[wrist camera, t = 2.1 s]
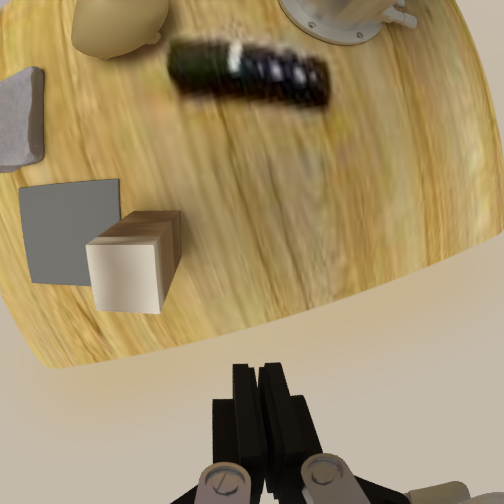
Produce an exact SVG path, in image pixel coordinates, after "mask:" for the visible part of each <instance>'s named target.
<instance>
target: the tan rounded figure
mask: <svg viewBox="0 0 504 504" xmlns="http://www.w3.org/2000/svg"><path fill="white" fill-rule="evenodd" d="M168 9H169V0H77V3H76V7H75V12H74V18H73V25H72V34H71V39H72V44H73V46H74V47H75V48H76V49H77V50H78V51H80V52H82V53H84V54H86V55H89V56H93V57H99V58H100V59H101V60H108V59H109V58H111V57H115V56H120V55H123V54H126V53H129V52H131V51H133V50H135V49H137V48H139V47H141V46H142V45H144V44H155V43H157V42H158V41H159V40H160V38H161V35H160V33H159V32H158V31H159V30H160V28H161V27H162V25H163V23H164V21H165V19H166V17H167V13H168Z"/></svg>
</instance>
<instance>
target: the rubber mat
mask: <svg viewBox="0 0 504 504" xmlns="http://www.w3.org/2000/svg"><path fill="white" fill-rule="evenodd" d="M18 190H19V203H20V214H21V222H22V230H23V237H24V244H25V250H26V256H27V261H28V266H29V271H30V276H31V281H32V283H43V284H60V285H78V286H92V285H91V279H90V273H89V266H88V259H87V252H86V244H88V243H89V242H90V241H92V240H93V239H95V238H96V237H97V236H99V235H100V234H102V233H103V232H104V231H106V230H107V229H109V228H110V227H111V226H113V225H114V224H116V223H117V222H119V221H120V220H121V213H120V191H119V179H108V180H94V181H81V182H70V183H60V184H50V185H41V186H33V187H25V188H19V189H18Z"/></svg>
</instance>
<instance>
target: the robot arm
mask: <svg viewBox="0 0 504 504" xmlns="http://www.w3.org/2000/svg"><path fill="white" fill-rule="evenodd" d="M279 3H280V5H281V7H282V9H283V11H284V12H285V13H286V15H287V16H288V18H289V19H290V20H291V21H292V22H293V23H294V24H295V25H297V26H298V27H299V28H301V29H302V30H303V31H305V32H306V33H308V34H310V35H312V36H313V37H316V38H318V39H320V40H323V41H326V42H329V43H333V44H339V45H355V44H360V43H363V42H365V41H367V40H369V39H371V38H372V37H374V36H375V35H376V34H377V33H378V32H379V31H380V29H381V27H382V25H383V21H384V22H387V23H391V22H395V23H398V24H399V25H401V26H404V27H407V28H409V29H412V30H413V29H415V27H416V26H417V18H416V17H415V16H412V15H410V14H407V13H405V12H402V11H398V10H396V9H395V7H394V6H397V7H399V8H403V7H404V6H405V0H279ZM393 5H394V6H393ZM309 26H310V27H311V28H310V27H309ZM212 405H213V407H212V414H213V417H212V424H213V425H212V431H213V464H212V465H210V466H208V467H207V468H206V469H205V470H204V471H203V472H202V473H201V476H200V478H199V483H198V485H197V486H195V487H194V488H192V489H191V490H189V491H188V492H187V493H185V494H184V495H183V496H181V497H179V498H178V499H176V500H175V501H173V502H172V503H170V504H259V502H260V497H261V494H262V491H263V485H264V480H265V482H266V488H267V492H268V493H273V495H274V499H278V500H279V504H504V492H492V493H486V494H483V495H479V496H476V497H473V498H471V497H470V494H469V490H468V488H467V486H466V485H465V484H463V483H462V482H459V481H452V482H448V483H444V484H441V485H436V486H431V487H427V488H422V489H417V490H411V491H409V492H408V493H404V494H402V493H400V492H397V491H394V490H391V489H388V488H385V487H383V486H380V485H377V484H375V483H372V482H369V481H367V480H364V479H362V478H359V477H357V476H354V475H353V474H352V472H351V471H350V469H349V467H348V465H347V464H346V463H345V461H343V459H341V458H340V457H338V456H336V455H333V454H328V453H323V451H322V448H321V445H320V442H319V439H318V436H317V433H316V430H315V427H314V424H313V421H312V418H311V415H310V412H309V409H308V406H307V404H306V400H305V398H304V396H303V395H295V396H290V393H289V390H288V387H287V383H286V379H285V376H284V372H283V369H282V365H281V363H280V362H278V363H265V365H264V367H259V377H258V388H257V382H256V376H255V371H254V367H253V368H249V367H248V364H233V399H213V404H212Z"/></svg>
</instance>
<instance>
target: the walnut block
mask: <svg viewBox="0 0 504 504" xmlns="http://www.w3.org/2000/svg"><path fill="white" fill-rule="evenodd" d="M86 252H87V259H88V266H89V273H90V279H91V285H92V290H93V296H94V301H95V306H96V311H112V312H130V313H153V314H160V313H161V310H162V307H163V304H164V301H165V299H166V296H167V293H168V290H169V288H170V285H171V282H172V280H173V277H174V274H175V272H176V269H177V267H178V264H179V261H180V259H181V241H180V211H133V212H132V213H130V214H129V215H127V216H126V217H125V218H123V219H122V220H120V221H119V222H117V223H116V224H114V225H113V226H111V227H110V228H109V229H107V230H106V231H104V232H103V233H102V234H100V235H99V236H97V237H96V238H95V239H93V240H92V241H90V242H89V243H88V244H86Z"/></svg>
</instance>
